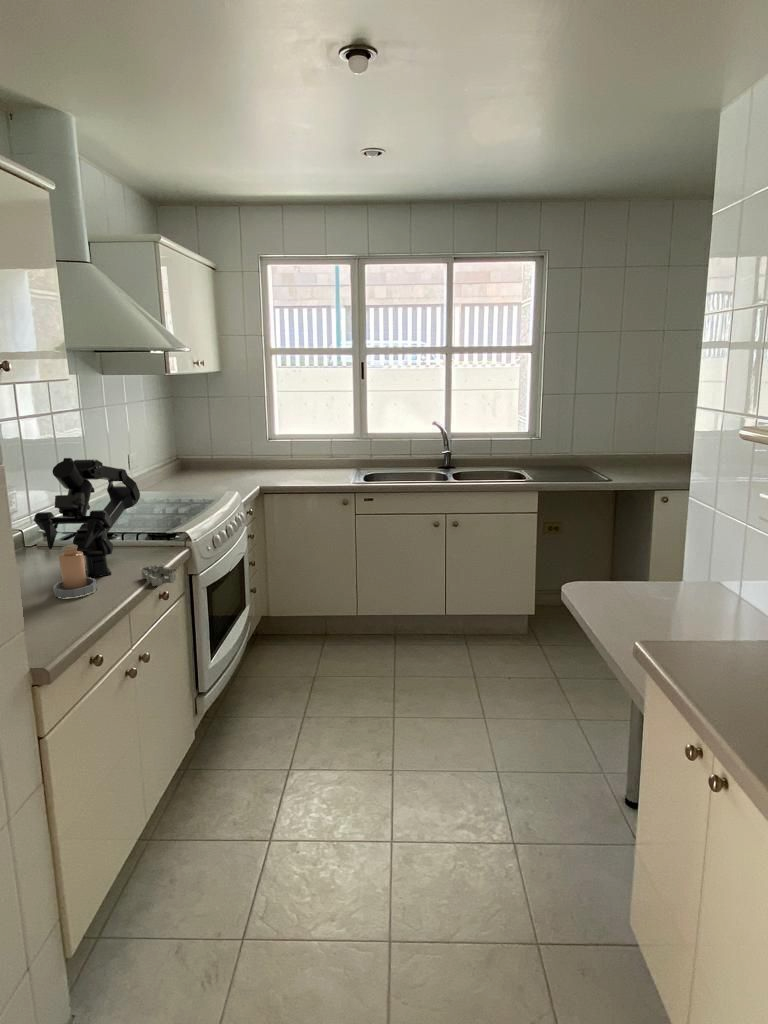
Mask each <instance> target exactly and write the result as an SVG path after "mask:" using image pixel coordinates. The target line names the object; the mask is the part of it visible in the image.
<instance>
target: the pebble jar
mask: <svg viewBox="0 0 768 1024" xmlns="http://www.w3.org/2000/svg"><path fill="white" fill-rule="evenodd" d="M77 548H78V546H77V545H73V544H68V545H64V546H62V547H61V550H62V551H63V553H60V554H59V555H58V561H59V562H58V563H59V569H60V575H61V581H62V583H63V590H73V589H78V588H83V587H86V586H87V579H86V577H87V576H86V571H87V570H86V563H85V559H84V558H85V556H83V552H81V551H77Z"/></svg>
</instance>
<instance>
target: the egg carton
mask: <svg viewBox="0 0 768 1024" xmlns="http://www.w3.org/2000/svg"><path fill="white" fill-rule="evenodd" d="M139 570H140V572H141V578H142V580H143V579H147V580H146V583H147V582H148V584H151V586H152V587H155V586H158V587H161V586H163V584H172V583H174V582H175V581H176V580H177V579H176V571H177V569H176V567H169V566H168V567H167V566H164V565H162V564H160V565H159V566H157V565H156V564H154V565H149V566H145V567H141V566H140V567H139Z"/></svg>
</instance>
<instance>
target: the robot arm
mask: <svg viewBox="0 0 768 1024" xmlns="http://www.w3.org/2000/svg"><path fill="white" fill-rule="evenodd" d="M51 473H52V475H53V476H54V477H55V478H56V480H57V481H58V482H59V483H60V484H61V486H62V487H63V488H64V489H66V490H67V494H63V495H62V494H61V495H59V494H58V495H55V496H54V508H55V509H58V513H59V514H60V515H61V514H62V516H55V515H54V514H53V512H51V511H39V512H36V513H35V515H34V517H33V521H34V523H35V524H36V525H37V527H39V529H40V530H41V531H44V533H45V537H46V542H47V547H48V549H49V550H52V549H53V547H54V544H55V541H56V537H57V534H58V530H57V529H58V527H59V525H67V524H69V525H70V524H72V525H73V524H80V527H79V528H78V529H76V533H75V535H74V536H73V539H72V545H77V546H78V548H77V551H81V552H83V556H84V558H85V559H84V561H85V568H86V570H85V571H86V577H89V578H90V577H93V578H97V577H96V576H98V577H101V576H100V575H104V576H107V575H106V574H109V575H112V574H111V573H112V571H111V570H110V568H109V567H108V566H109V565H108V559H107V558H108V557H107V556H108V555H111V554H113V552H114V544H113V543H112V542H111V540H110V539H109V538H108V533H109V532H110V530H111V529H112V528H113V526H114V524H115V523H116V522H117V521H118V519H119V518H120V517H121V515H122V514H123V513H124V511H125V510H128V509H130V508H133V507H134V506H135V505H136V504H137V503H138V502H139V500H140V498H141V492H140V490H139V487H138V484H137V482H136V481H135V480H134V479H132V477H130V476H129V475H128V473H127V471H126V469H124V468H117V467H112V466H107V465H103V462H102V461H100V460H98V459H74V460H73V458H72V457H64V458H63V461H62V460H61V461H60V462H58V463H57V464H56V465H54V467H53V468H52V472H51ZM89 480H91V481H93V480H94V481H95V480H105V481H107V482H108V485H107V488H106V491H107V494H108V496H109V499H110V500H109V502H108V503H107V505H106V506H105V507H104V509H102V510H100V509H99V510H91V509H90V508H91V505H90V498H91V494H92V493H95V491H96V490H95V487H94V486H93V485H92V482H90V481H89ZM113 482H122V484H123V486H122V485H121V486H119V485H117V486H114V484H113ZM88 510H89V515H87V512H88Z"/></svg>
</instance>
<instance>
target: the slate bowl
mask: <svg viewBox="0 0 768 1024" xmlns="http://www.w3.org/2000/svg"><path fill="white" fill-rule="evenodd" d="M86 579H87V586H86V587H83V588H78V589H73V590H63V583H62V580H60V581H58V582H56V583H55V584H54V585H53V586H52V588H53V594H55V595H54V597H55V596H56V597H61V598H66V597H76V596H80V595H85V594H87V593H90V592H93V591H94V590H95V589H96V588H97V589H98V584H97V580H96V579H95V577H93V578H89V577H87V576H86ZM56 597H55V598H56Z"/></svg>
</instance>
